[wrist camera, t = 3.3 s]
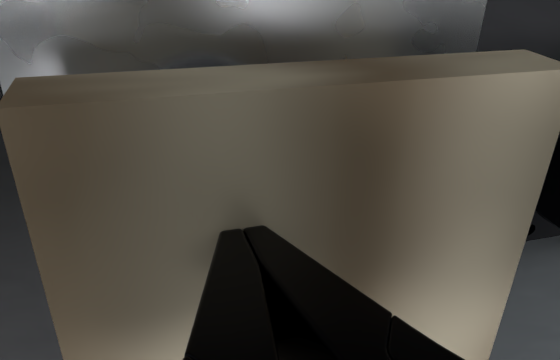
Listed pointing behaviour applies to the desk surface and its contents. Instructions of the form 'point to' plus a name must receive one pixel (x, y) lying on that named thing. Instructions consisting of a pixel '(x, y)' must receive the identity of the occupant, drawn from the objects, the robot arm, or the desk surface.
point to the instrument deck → (282, 186)
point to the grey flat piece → (223, 33)
